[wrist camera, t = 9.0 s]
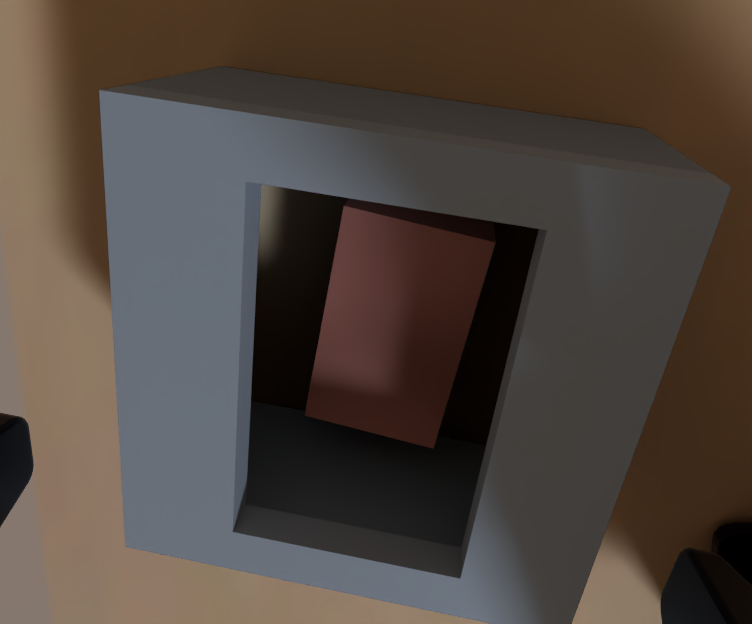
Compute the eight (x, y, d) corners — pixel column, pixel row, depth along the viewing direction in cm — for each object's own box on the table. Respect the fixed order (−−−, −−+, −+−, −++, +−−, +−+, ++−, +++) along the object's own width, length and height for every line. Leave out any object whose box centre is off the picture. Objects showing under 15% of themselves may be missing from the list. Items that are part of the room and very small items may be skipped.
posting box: (221, 65, 14) (98, 89, 9) (645, 128, 13) (732, 186, 9) (214, 412, 18) (125, 546, 13) (542, 475, 17) (566, 639, 13)
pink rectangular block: (364, 176, 15) (343, 205, 12) (492, 208, 15) (495, 242, 12) (327, 362, 17) (304, 415, 15) (439, 391, 17) (433, 448, 15)
